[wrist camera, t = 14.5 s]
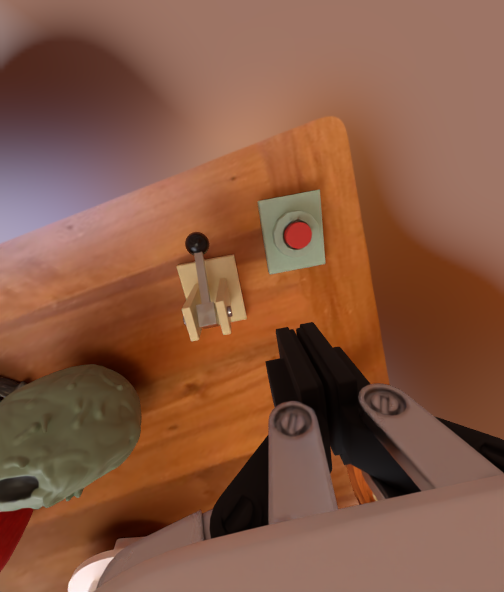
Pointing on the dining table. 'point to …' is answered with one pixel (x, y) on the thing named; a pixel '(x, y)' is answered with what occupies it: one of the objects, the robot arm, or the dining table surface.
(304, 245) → the console button
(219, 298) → the switch bracket
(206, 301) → the switch lever
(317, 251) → the grey button base
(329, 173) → the dining table surface
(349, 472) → the beer glass
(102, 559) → the ribbed cylinder on disc
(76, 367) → the green rock
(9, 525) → the apple
